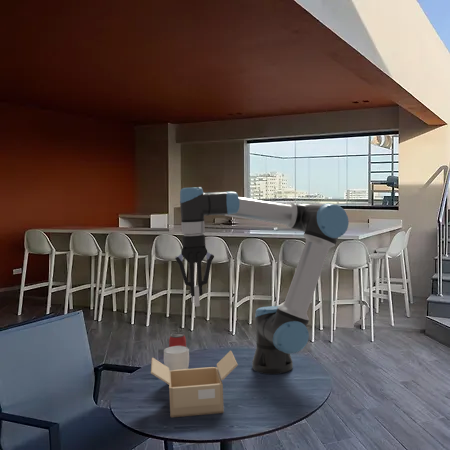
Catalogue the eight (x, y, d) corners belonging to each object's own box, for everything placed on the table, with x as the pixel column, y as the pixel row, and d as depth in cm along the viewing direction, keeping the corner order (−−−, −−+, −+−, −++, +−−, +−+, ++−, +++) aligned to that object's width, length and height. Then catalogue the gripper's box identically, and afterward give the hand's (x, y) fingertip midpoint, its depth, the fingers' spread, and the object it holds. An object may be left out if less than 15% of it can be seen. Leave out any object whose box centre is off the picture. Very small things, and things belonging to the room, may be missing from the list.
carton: (217, 393, 169) (217, 366, 168) (223, 413, 153) (222, 384, 152) (169, 397, 167) (168, 370, 166) (170, 418, 151) (169, 388, 150)
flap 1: (169, 368, 165) (152, 357, 164) (169, 383, 152) (151, 371, 151) (168, 369, 165) (151, 358, 164) (168, 384, 152) (150, 373, 151)
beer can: (172, 361, 202) (171, 332, 201) (188, 362, 201) (187, 332, 200) (168, 367, 195) (166, 337, 194) (184, 367, 194) (183, 337, 194)
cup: (186, 388, 174) (184, 354, 173) (161, 387, 176) (159, 353, 175) (193, 378, 183) (191, 346, 182) (169, 377, 184) (167, 345, 184)
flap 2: (217, 365, 167) (231, 351, 167) (222, 380, 154) (237, 365, 154) (216, 364, 167) (230, 350, 167) (221, 379, 153) (236, 363, 154)
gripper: (211, 232, 171) (215, 301, 172) (172, 234, 169) (176, 304, 170) (214, 234, 163) (218, 306, 165) (174, 236, 161) (178, 309, 163)
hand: (197, 305), depth 168 cm, fingers closed
